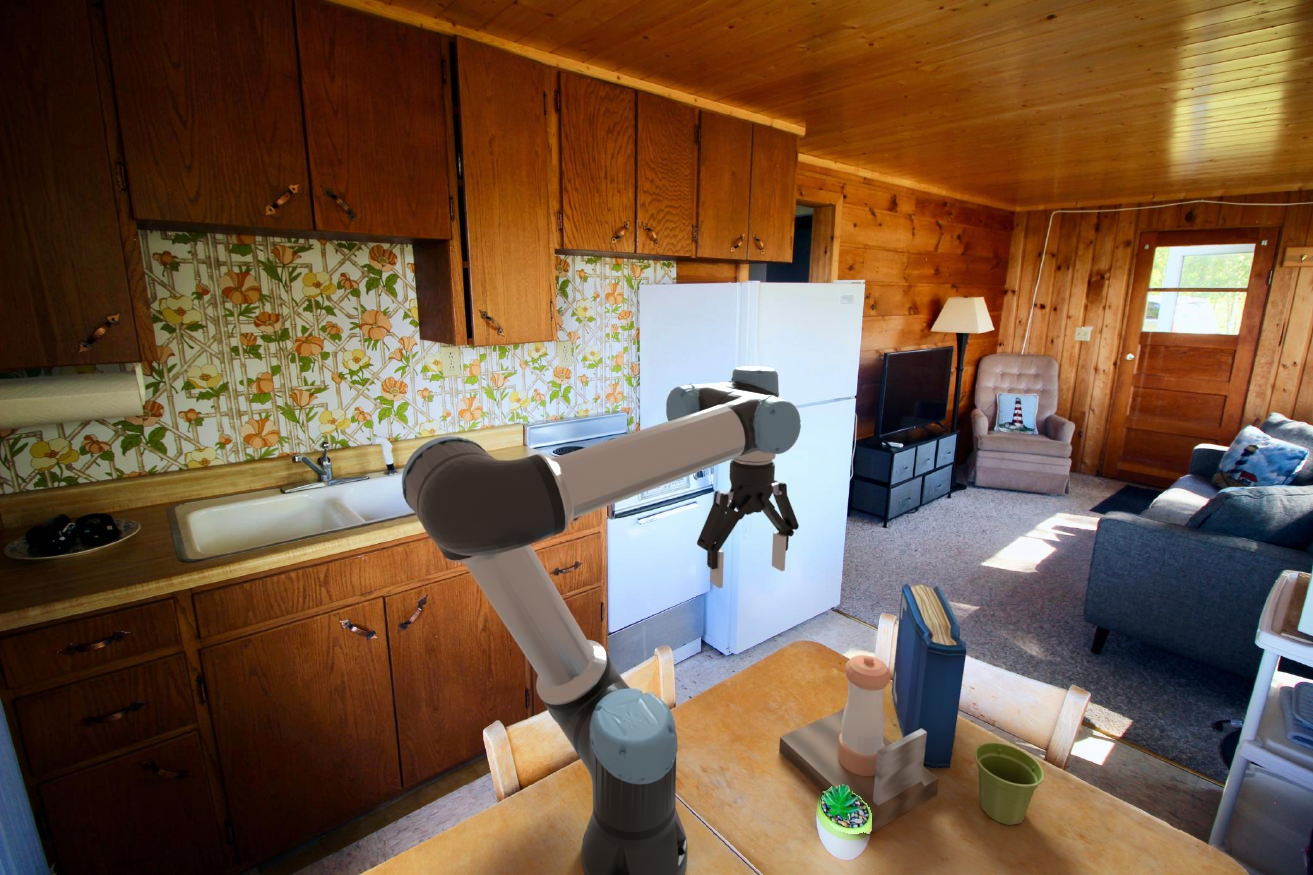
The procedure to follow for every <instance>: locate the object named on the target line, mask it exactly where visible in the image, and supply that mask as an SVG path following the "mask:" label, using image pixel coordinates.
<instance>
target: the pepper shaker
mask: <svg viewBox="0 0 1313 875" xmlns="http://www.w3.org/2000/svg"><path fill="white" fill-rule="evenodd" d="M844 673H845V676H846V678H847V680H848V687H847V689H848V690H847V691H848V692H847V699H846V703H845V707H844V708H845V711H844V714H843V719H842V733H841V734H840V735H839V742H838V760H839V762H840V763H841V765H842V766H843V767H844V768H845V769H847V770H848V771H850V772H852V773H854V774H857V775H861V776H873V775H875V773H876V762H877V751H878V750H880V749H882V748H884V747H885V746H884V744H883V737H885V736H884V735H885V716H884V708H883V705H884V694H885V693H884V692H885V688H886V687H887V686H888V685H889V683H890V681H891V671H890V669H889V667H888V666H887V664H886V663H885V662H884V661H882V660H881V659H879V658H877V657H875V656H872V655H866V654H858V655H855V656H853V657H851V658H850V659H849V660H847V662H845V666H844Z"/></svg>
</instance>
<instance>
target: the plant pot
mask: <svg viewBox="0 0 1313 875" xmlns="http://www.w3.org/2000/svg"><path fill="white" fill-rule="evenodd" d="M973 757H974V760H975V761H976V765H977V768H978V786H979V787H978V789H979V792H978V793H979V796H978V797H979V806H980V808H981V809H982V810H983V811H984V812H985V814H987V815H988V817H989V818H991V819H992V820H994V821H996V822H997V823H1000V824H1003V825H1007V826H1014V825H1017V824H1022V823H1023V821H1024V820H1025V817H1026V814H1027V811H1028V809H1029V806H1030V803H1031V800H1032V798H1033V795H1034V792H1035V790H1036V789H1037V788H1038V786H1040V785H1041V784H1042V783H1043V781H1044V779H1045V771H1044V769H1043V766H1042V765H1041V764H1040V763H1039V761H1038V760H1037V759H1036V758H1034V757H1033V756H1032V755H1031V754H1029V753H1028V752H1026V751H1024V750H1023V749H1020V748H1018V747H1017V746H1014V745H1010V744H1008V743H1005V742H999V741H986V742H981V743H979V744H978V745H977V746H976V747H975V748H974V751H973Z"/></svg>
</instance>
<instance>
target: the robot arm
mask: <svg viewBox="0 0 1313 875" xmlns="http://www.w3.org/2000/svg"><path fill="white" fill-rule="evenodd" d="M779 392H780V391H779V374H778V372H777V370H776V369H774V368H772V367H768V366H753V365H752V366H738V367H735V368H734V369H733V370H732V375H731V378H730V381H726V382H725V381H724V382H711V383H700V384H699V383H697V384H696V383H695V384H694V383H689V384H688V385H687V384H686V385H680V386H676V387H674V388H672V390H671V391H670V392H669V394H668V395H667V399H666V401H665V402H666V404H665V405H666V408H665V410H666V411H665V412H666V413H665V414H666V418H667V421H665V422H662V423H659V424H656V425H652V426H649V427H647V428H643V429H641V430H637V431H634V432H631V433H627V434H624V435H622V436H619V437H615V438H612V439H609V440H605V441H603V442H600V443H599V442H598V443H596V444H593V445H590V446H587V447H584V448H581V449H578V450H574V451H571V452H568V453H564V454H561V455H559V456H555V457H552V458H549V457H547V456H545V455H543V454H540V453H537V454H533V455H530V456H527V457H522V458H518V459H511V460H510V459H508V460H506V459H505V460H503V459H500V460H499V459H497V458H495V457H494V456H492V455H491V454H490V453H488V452H487V451H486V450H485V449H484V448H483V447H482V446H481V444H478V443H477V442H476V441H474V440H471V439H468V438H464V437H460V436H454V435H453V436H452V435H451V436H448V435H447V436H441V437H436V438H434V439H430V440H428V441H427V442H425V443H423V444H422V445H420V446H419V447H418V448H417V449H416V450H414V452H413V453H412V454H411V455H410V456H409V458H408V460H407V461H406V463H405V465H404V468H403V470H402V475H401V476H402V477H401V488H402V496H403V498H404V500H405V503H406V504H407V505H408V507H409V508H410V509H411V510H412V511H413V513H414V514H415V516H416V517H417V520H419V522H420V524H421V525H422V527H423V529H424V530H425V533H426V534H427V535H428V536H429V537H430V539H431V540H432V541H433V542H434V543H435V544H436V546H437V548H438V549H439V550H440V552H441V554H442V555H443V556H444V557H445V559H446V560H447V561H449V562H452V563H463V564H464V566H465V567H466V569H467V570H468V572H469V573H470V575H471V577H472V578H473V579H474V580H475V582H476V584H477V585H478V587H479V588H480V590H481V591H482V593H483V595H485V597H486V598H487V601H488V602H489V603H490V605H491V606H492V608H493V609H494V611H495V613H496V614H497V615H498V617H499V619H500V620H501V621H502V623H503V624H504V626H505V627H506V629H507V630H508V631H509V633H510V635H511V636H512V638H513V639H514V641H515V642H516V644H517V645H518V647H519V648H520V650H521V651H522V653H523V655H524V656H525V658H526V659H527V661H528V662H529V664H530V665H531V666H532V668H533V669H534V671H535V672H536V674H537V678H536V684H535V686H536V692H537V694H538V696H539V698H540V699H541V702H543V704H544V705H545V707H546V709H547V711H548V713H549V715H550V716H551V718H552V719H553V720H554V721H555V722H556V723H557V725H558V727H559V728H560V729H561V730H562V732H563V733H564V734H563V735H565V737H566V738H567V740H568V741H569V743H570V744H571V746H572V748H573V749H574V751H575V752H576V753H577V755H578V757H579V758H580V760H581V762H582V763H583V765H584V766H585V769H587V771H588V773H589V775H590V778H591V782H592V783H591V784H592V785H591V786H592V812H591V815H590V817H589V820H588V823H587V827H586V829H585V832H584V835H583V837H582V843H581V867H582V872H583V875H685V872H686V870H687V866H688V840H687V835H686V830H685V828H684V826H683V823H682V820H681V818H680V815H679V812H678V809H677V806H676V805H677V804H676V801H677V799H676V798H677V797H676V796H677V794H676V791H677V753H678V746H679V744H678V737H677V736H678V735H677V729H676V722H675V721H676V720H675V717H674V714H673V713H672V711H671V709H670V708H669V706H668V705H667V703H666V702H664V701H663V699H661V697H658V696H657V695H655V694H654V693H652V692H649V691H647V692H645V693H643V691H642V689H639V688H631V687H630V686H629V685H628V684H627V683H626V682H625V680H624V679H623V677H622V676H621V675H620V673H619V671H618V670H617V668H616V666H615V664H614V662H613V661H612V660H611V658H610V656H609V655H608V653H607V652H606V649H605V648H604V646H603V645H602V644H601V643H599V642H598V641H595V640H591V639H587V637H586V636H585V634H584V632H583V630H582V629H581V627H580V625H579V624H578V623H577V621H576V618H575V617H574V615H573V614H572V612H571V610H570V609H569V606H567V604H566V602H565V600H564V598H563V597H562V595H561V593H560V591H559V590H558V588H557V587H556V585H555V583H554V581H553V580H552V579H551V577H550V575H549V574H548V571H547V570H546V569H545V567H544V565H543V564H542V562H541V560H540V558H539V556H538V555H537V553H536V551H535V550H534V548H533V547H532V545H533V544H535V543H536V544H537V543H539V542H542V541H544V540H547V539H549V538H552V537H554V536H557V535H560V534H562V533H564V532H566V531H567V529H568V527H569V525H570V523H571V521H572V520H575V519H577V518H579V517H582V516H584V515H587V514H589V513H594V512H595V511H598V510H601V509H603V508H606V507H608V506H611V505H614V504H617V503H620V502H622V501H624V500H627V499H629V498H632V497H635V496H638V495H640V494H643V493H646V492H648V491H651V490H653V489H656V488H660V487H661V486H665V485H667V484H670V483H672V482H673V483H674V482H675V481H679V480H681V479H683V478H686V477H689V476H691V475H694V474H696V473H699V472H701V471H704V470H707V469H709V468H712V467H715V466H717V465H720V464H723V463H726V462H727V461H729V480H730V485H731V486H730V488H729V491H721V490H718V489H717V490H715V491H714V494H713V501H712V505H711V508H710V510H709V512H708V515H707V517H706V520H705V522H704V525H703V527H702V530H701V532H700V533H699V535H698V536H699V537H698V539H697V541H696V544H697V546H698V547H700V548H701V549H702V550H705V551H706V553H707V555H706V557H707V558H706V564H707V567H708V568H709V569H710V570H709V571H710V572H709V582H710V583H711V584H712V585H713V586H715V587H716V588H718V589H722V588H724V555H725V554H724V553H725V552H724V551H723V550H722V549H721V548H722V547H723V545H724V543H725V542H726V541H727V539H728V538H729V536H730V535H731V533H732V531H733V530H734V528H735V527H736V526H737V524H738V522H739V521H740V520H742V519H743V518H744V517H745V516H748V515H752V514H753V513H762V512H763V514H764V515H765V516H766V517H767V519H768V520H769V521H770V522H771V524H772V525H773V527H775V529H776V530H777V531H774V532H773V533H772V548H771V549H772V550H771V551H772V553H771V566H772V567H773V568H775V569H777V570H778V571H780V572H784V571H785V569H786V568H785V567H786V553H787V552H786V551H788V550H789V541H790V540H789V537H793V536H794V534H795V531H797V530H798V529H799V527H800V526H799V525H800V524H799V523H798V519H797V516H796V514H795V512H794V509H793V506H792V504H791V501H790V499H789V495H788V487H787V486H788V485H787V484H786V483H785V482H782V481H781V480H778V479H775V470H776V469H775V468H776V463H775V461H774V460H775V459H776V455H781V454H784V453H786V452H788V451H789V450H790V449H792V447H794V445H795V444H796V442H797V440H798V438H799V436H800V433H801V427H802V426H801V425H802V424H801V415H800V413H799V412H800V411H799V410H798V409H797V407H796V405H794V404H793V403H792V402H790V401H789V400H786V399H782V398H779V397H780V393H779ZM772 495H773V497H774V501H775V503H776V505H777V507H778V510H779V511H777V509H775V508H776V507H775V505H774V504H773V502H772V501H771V500H770V498H771V496H772ZM736 510H737V511H736ZM794 530H795V531H794Z"/></svg>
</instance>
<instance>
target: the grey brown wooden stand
mask: <svg viewBox="0 0 1313 875" xmlns="http://www.w3.org/2000/svg"><path fill="white" fill-rule="evenodd" d="M844 711H845V707H844V708H842V709H840V710H838V711H836V712H833V713H831V714H829V715H826V716H824V717H823V718H822V717H821V718H820V719H818V720H816V721H813V722H811V723H807V724H806V725H803V726H802V727H799V728H797V729H795V730H792V731H790V732H788V733H785V734H784V735H781V736H779V747H778V748H779V750H778V751H779V753H780V754H781V755H782V756H783V757H784V758H785V759H786V760H787V761H788V762H790V764H792V766H793V767H795V768H796V769H797V770H798V771H799V772H800V773H801V774H802V775H804V776H805V778H806V779H808V780H809V782H810V783H811V784H813V785H814V786H815V787H816V788H817V789H818V790H819V791H820V792H821V793H822V792H823V791H826V790H828V789H829V788H830V787H831V786H838V785H842V784H844V785H848V786H849V788H850V790H851V791H853V793H855V794H856V795H858V796H860V797H861V798H862V800H863V801H864V802H865V803H867V805H868V807H870V810H871V813H872V831H871V834H872V833H874V832H876V831H878V830H880V829H881V828H883V827H884V826H886V825H887V824H889V823H891V822H893V821H894V820H896V819H898V818H899V817H901V816H903V815H905V814H907V813H908V812H910V811H912V810H913V809H915V808H917V807H918V806H920V805H921V804H923V803H925V802H927V801H929V800H930V799H931V798H933V797H935V796H936V795H938V792H939V791H938V790H939V784H940V783H939V782H940V777H939V776H937V775H936V774H934V773H933V772H931V771H930V770H929V769H928V768H927V767H925V766H923V763H924V755H925V746H926V737H927V732H926V731H925V730H923V729H922V728H921V729H919V730H917V731H915V732H913V733H911V734H909V735H907V736H906V737H901V738H900V739H898V740H896V741H894V742H892V741H891V740H889V739H887V738H886V737H885V736H883V744H884V746H885V747H884V748H882V749H880V750H878V751H877V762H876V773H875V775H873V776H861V775H857V774H854V773H852V772H850V771H848V770H847V769H845V768H844V767H843V766H842V765H841V763H840V762H839V760H838V742H839V735H840V734H841V733H842V719H843V714H844Z"/></svg>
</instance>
